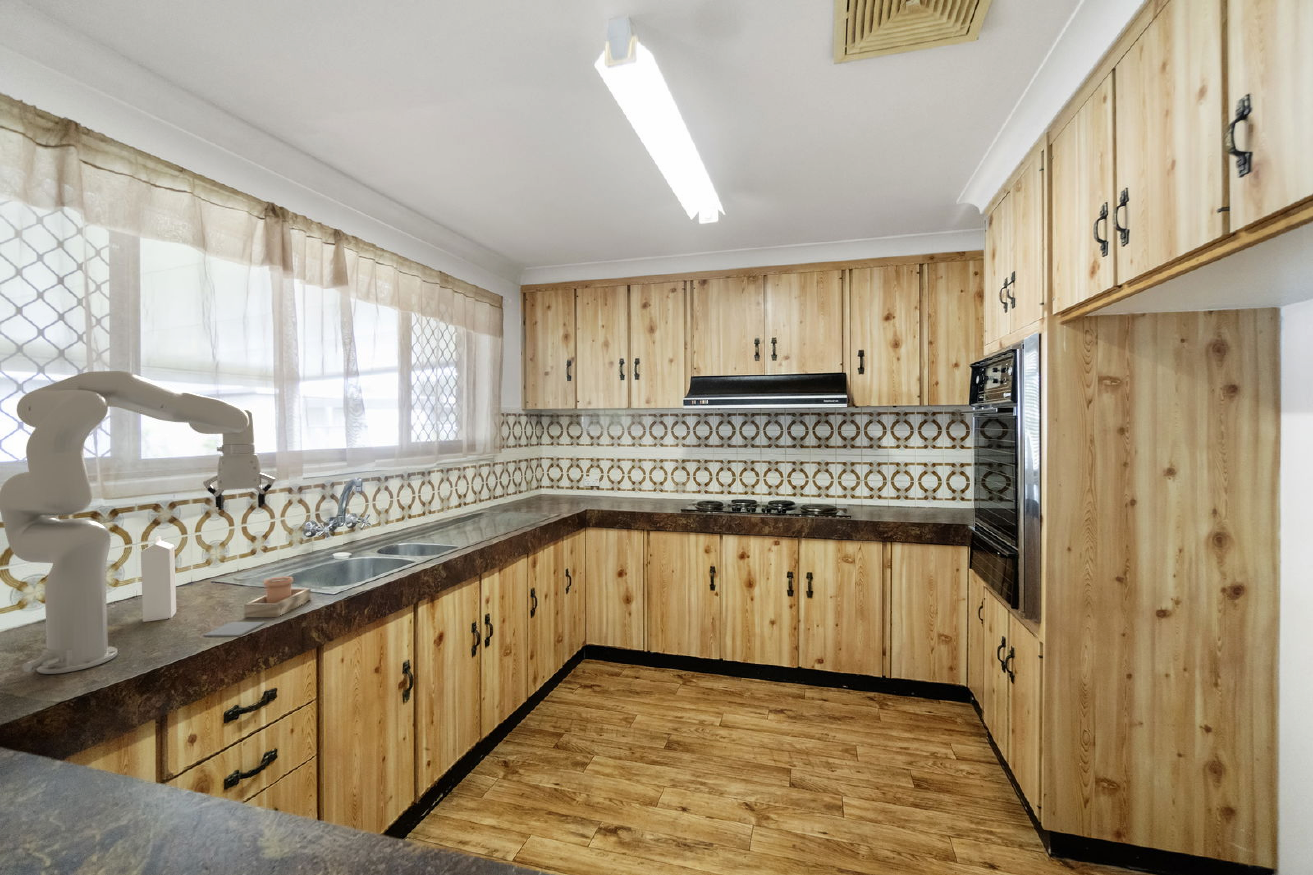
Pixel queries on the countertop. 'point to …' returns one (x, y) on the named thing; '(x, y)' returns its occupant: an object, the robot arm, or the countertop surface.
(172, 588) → the milk
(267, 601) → the pot
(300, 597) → the wooden tray
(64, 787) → the countertop surface
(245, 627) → the mat
